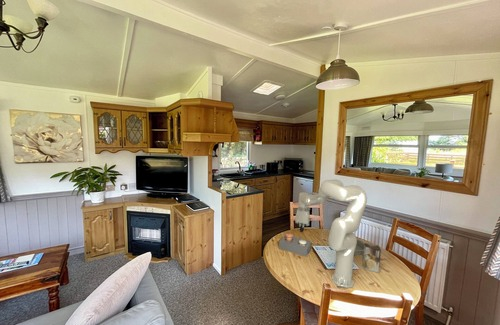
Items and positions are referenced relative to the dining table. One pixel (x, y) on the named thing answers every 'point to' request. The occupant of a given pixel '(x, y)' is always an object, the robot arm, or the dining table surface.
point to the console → (295, 246)
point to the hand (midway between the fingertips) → (301, 231)
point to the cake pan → (359, 248)
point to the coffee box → (371, 257)
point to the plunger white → (302, 242)
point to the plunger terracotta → (289, 237)
